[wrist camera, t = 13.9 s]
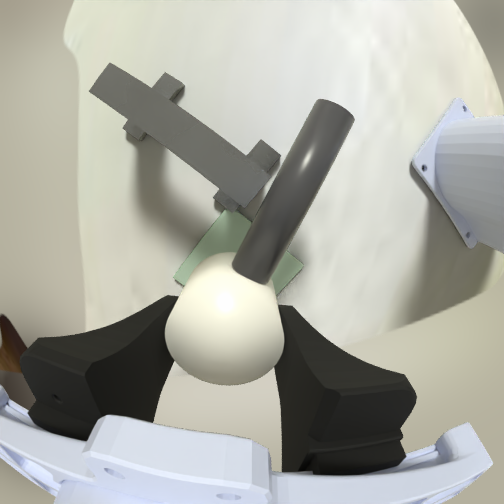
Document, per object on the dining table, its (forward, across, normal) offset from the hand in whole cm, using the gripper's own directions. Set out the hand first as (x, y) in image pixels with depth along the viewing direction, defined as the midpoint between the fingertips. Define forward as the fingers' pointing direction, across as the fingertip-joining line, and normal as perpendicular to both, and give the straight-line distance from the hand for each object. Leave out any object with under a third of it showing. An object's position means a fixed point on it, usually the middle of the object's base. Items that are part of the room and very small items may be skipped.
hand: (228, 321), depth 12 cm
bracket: (+6, +3, -8) cm, 11 cm away
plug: (+2, -1, -3) cm, 4 cm away
